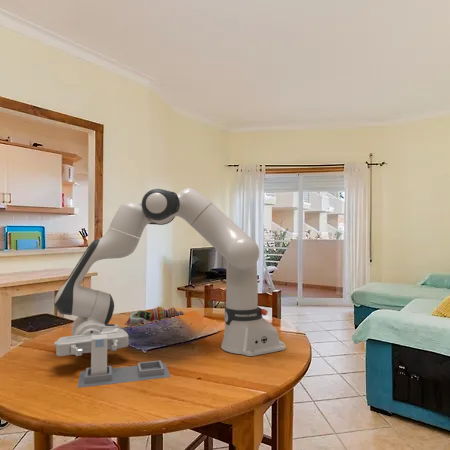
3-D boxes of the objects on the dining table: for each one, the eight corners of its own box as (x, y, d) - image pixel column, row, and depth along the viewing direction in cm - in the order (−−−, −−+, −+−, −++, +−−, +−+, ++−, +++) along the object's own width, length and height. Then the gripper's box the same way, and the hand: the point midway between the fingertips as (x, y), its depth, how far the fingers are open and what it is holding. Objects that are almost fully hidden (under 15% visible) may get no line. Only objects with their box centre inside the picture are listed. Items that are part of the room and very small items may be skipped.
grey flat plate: (165, 364, 111) (165, 357, 111) (171, 378, 100) (171, 370, 100) (80, 373, 103) (80, 365, 103) (77, 390, 93) (77, 381, 93)
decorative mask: (124, 303, 167) (188, 300, 176) (123, 319, 167) (188, 316, 176) (125, 315, 145) (199, 311, 153) (124, 333, 145) (198, 329, 153)
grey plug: (106, 373, 102) (106, 334, 102) (107, 379, 98) (107, 338, 98) (90, 375, 101) (91, 335, 101) (91, 381, 97) (91, 340, 97)
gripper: (53, 331, 109) (56, 344, 97) (122, 323, 119) (133, 334, 107) (53, 352, 109) (56, 368, 97) (122, 343, 119) (133, 356, 107)
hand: (97, 350), depth 102 cm, fingers open, 8 cm apart
